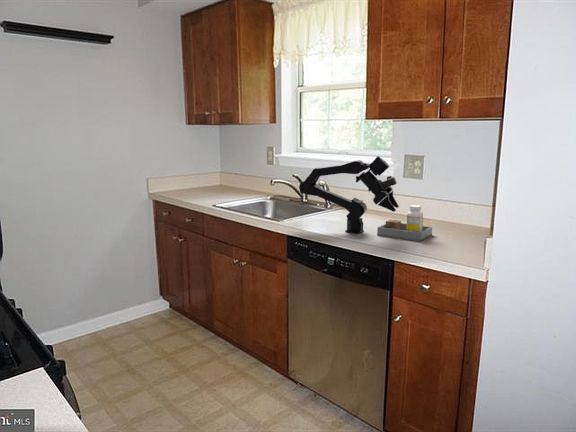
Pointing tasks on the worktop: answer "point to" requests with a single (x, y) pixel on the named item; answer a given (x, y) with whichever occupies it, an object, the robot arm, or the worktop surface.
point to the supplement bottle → (415, 219)
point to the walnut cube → (393, 224)
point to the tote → (405, 232)
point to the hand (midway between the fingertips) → (396, 209)
